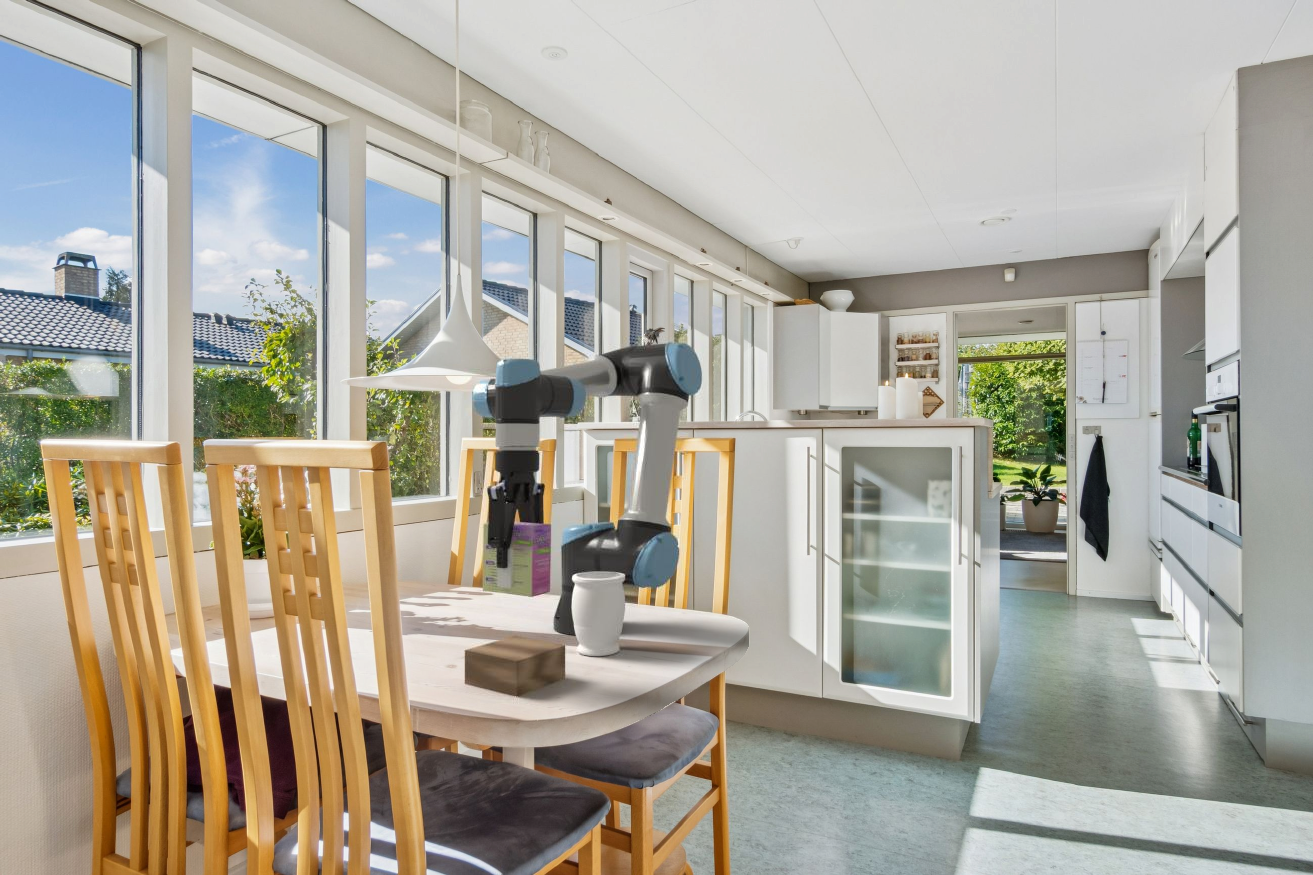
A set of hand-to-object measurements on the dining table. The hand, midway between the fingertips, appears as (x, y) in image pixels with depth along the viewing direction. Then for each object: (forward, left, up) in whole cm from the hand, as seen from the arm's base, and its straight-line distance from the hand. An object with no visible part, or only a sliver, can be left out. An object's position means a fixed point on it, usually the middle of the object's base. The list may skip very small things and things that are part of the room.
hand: (516, 583), depth 133 cm
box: (0, 0, -2) cm, 2 cm away
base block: (0, 0, -17) cm, 17 cm away
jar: (-23, +3, -17) cm, 29 cm away
